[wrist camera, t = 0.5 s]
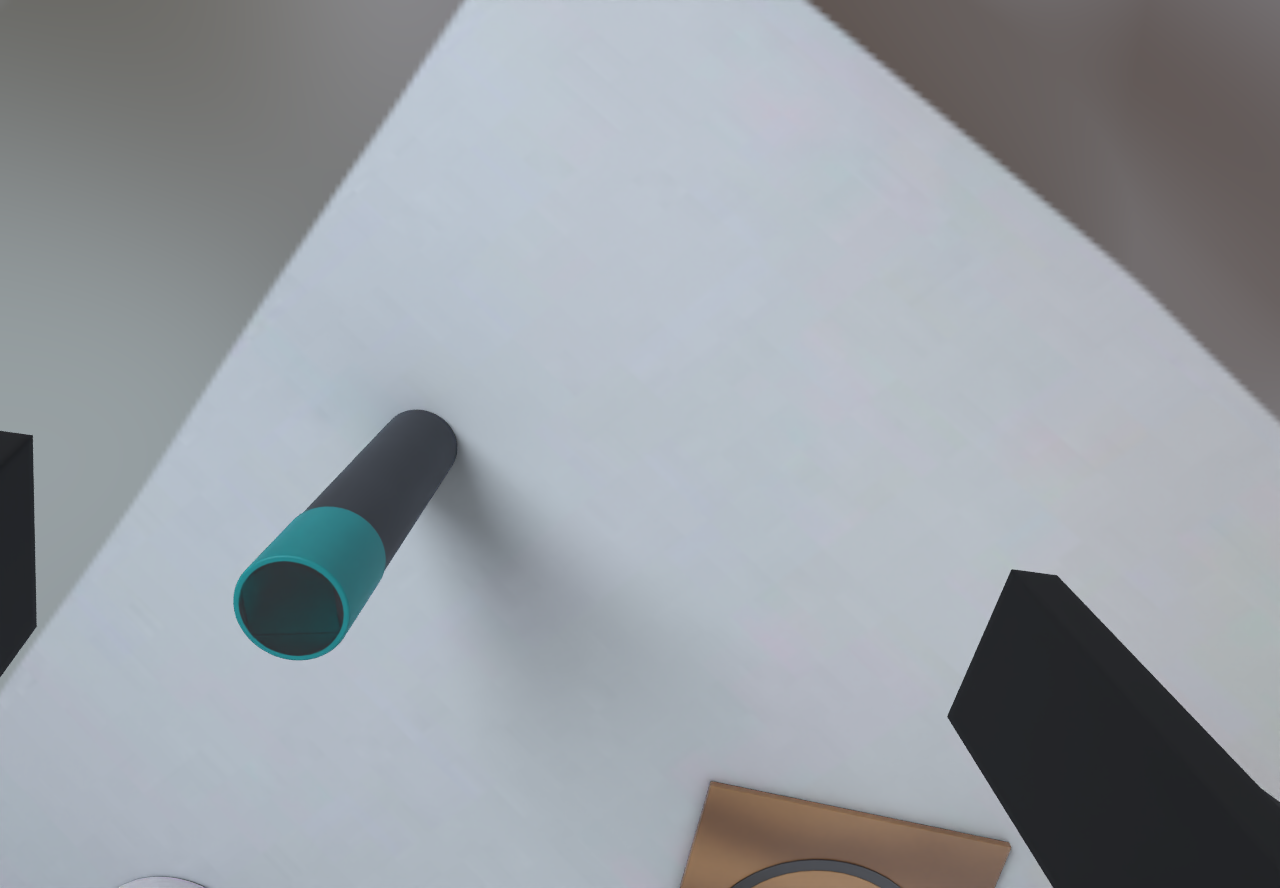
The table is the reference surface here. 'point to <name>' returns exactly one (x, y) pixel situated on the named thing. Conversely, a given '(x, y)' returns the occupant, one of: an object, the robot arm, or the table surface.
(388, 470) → the marker
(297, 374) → the table surface
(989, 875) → the sheet
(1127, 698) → the robot arm
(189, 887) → the coffee cup
